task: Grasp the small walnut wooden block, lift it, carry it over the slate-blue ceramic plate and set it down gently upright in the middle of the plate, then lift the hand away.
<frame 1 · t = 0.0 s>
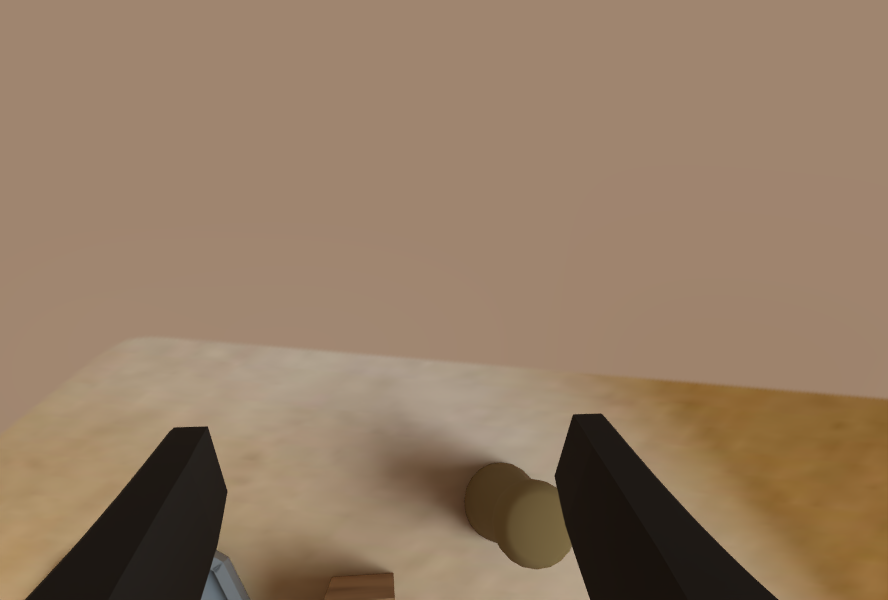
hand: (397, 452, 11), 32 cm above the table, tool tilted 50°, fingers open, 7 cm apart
cork: (501, 501, 42), on the table
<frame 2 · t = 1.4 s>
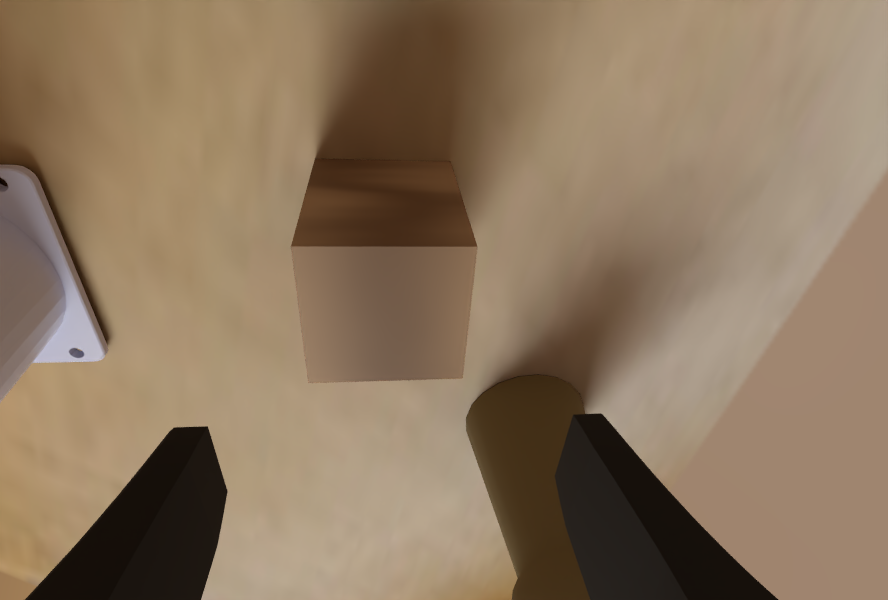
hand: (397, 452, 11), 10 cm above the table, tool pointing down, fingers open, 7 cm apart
block: (384, 220, 19), on the table
cork: (523, 415, 26), on the table
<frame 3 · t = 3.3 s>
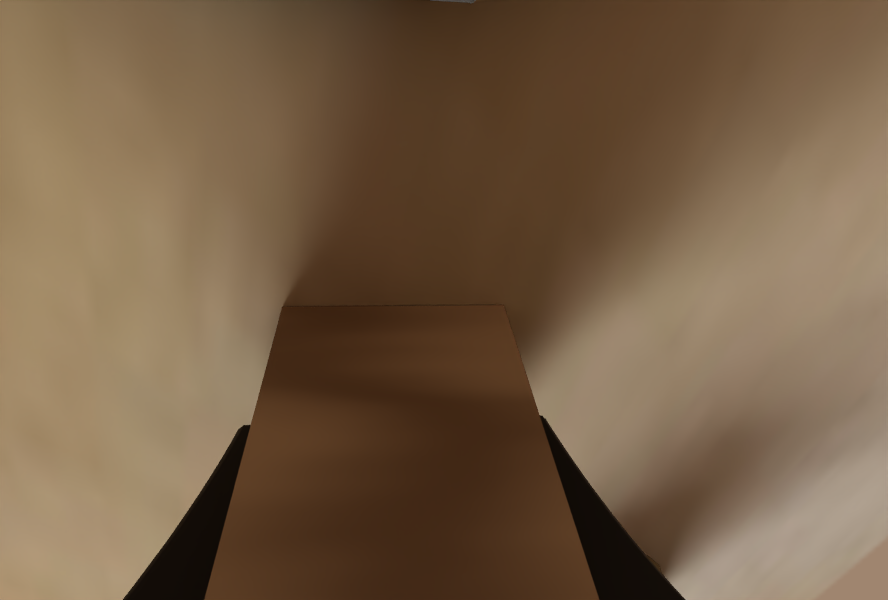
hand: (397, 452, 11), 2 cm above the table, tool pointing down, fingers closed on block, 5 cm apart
block: (395, 385, 12), on the table, touching gripper
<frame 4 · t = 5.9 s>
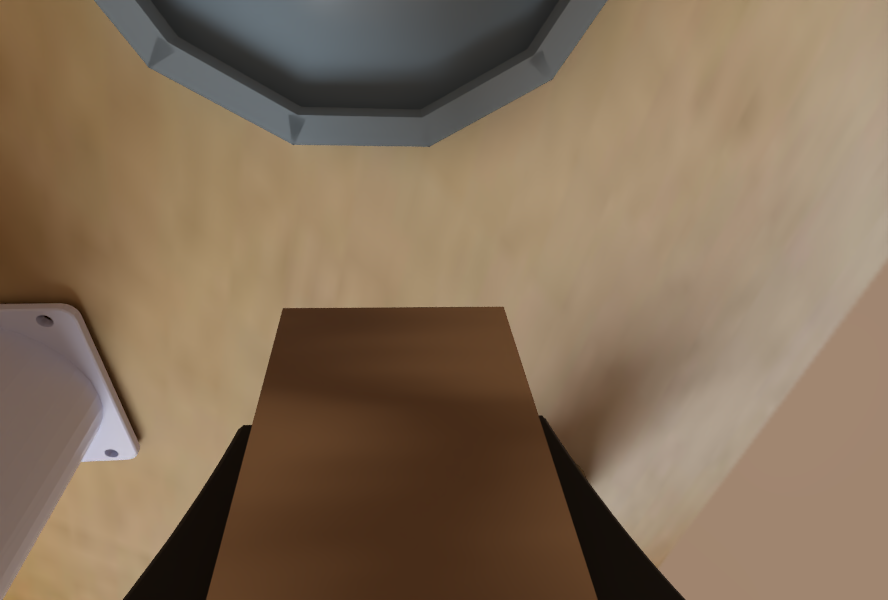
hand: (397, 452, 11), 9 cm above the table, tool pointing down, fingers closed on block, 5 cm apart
block: (395, 386, 12), point 7 cm above the table, touching gripper
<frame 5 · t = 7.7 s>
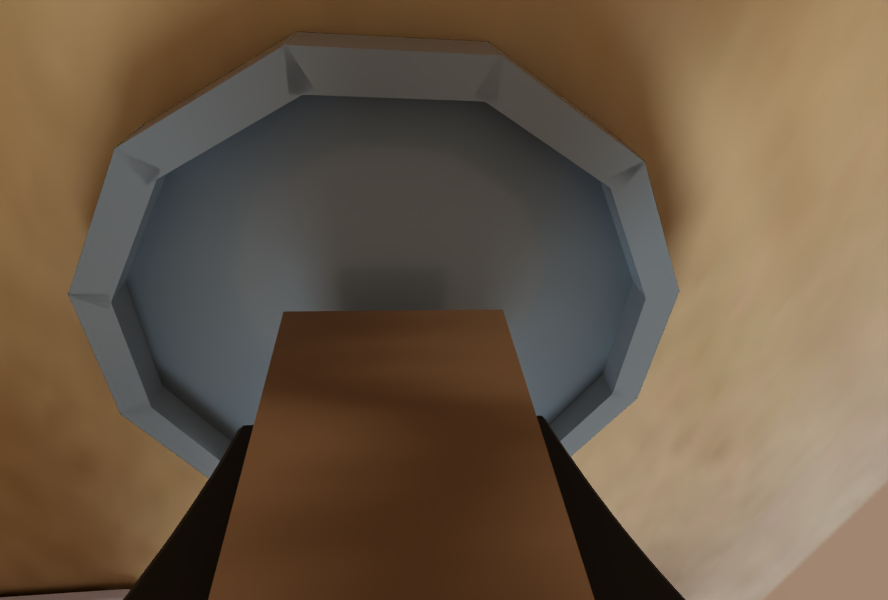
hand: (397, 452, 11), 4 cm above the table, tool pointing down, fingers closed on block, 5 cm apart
block: (395, 388, 12), point 2 cm above the table, touching gripper
plate: (392, 320, 14), on the table
when the fingers open (4 cm above the table, at t = 8.7 s): block drops 1 cm, resting on plate.
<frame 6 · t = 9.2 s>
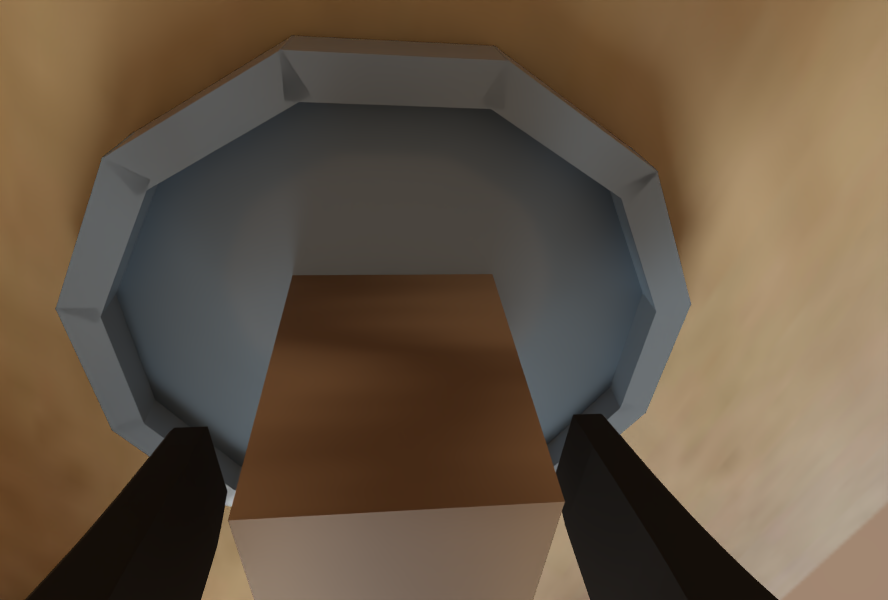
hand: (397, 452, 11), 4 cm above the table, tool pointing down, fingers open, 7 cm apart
block: (394, 349, 13), point 1 cm above the table, touching plate
plate: (393, 332, 14), on the table
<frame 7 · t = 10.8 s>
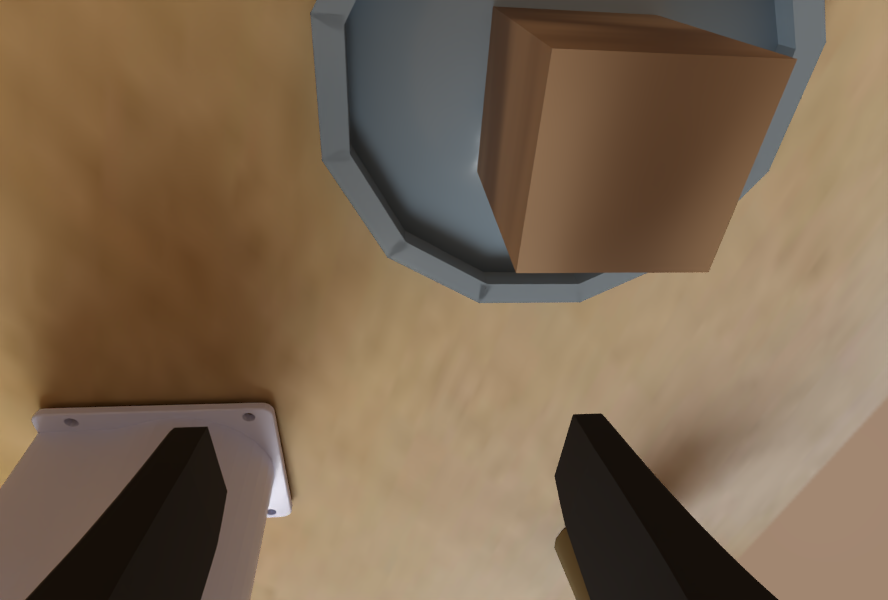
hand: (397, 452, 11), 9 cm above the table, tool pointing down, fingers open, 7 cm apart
block: (560, 98, 15), point 1 cm above the table, touching plate
cork: (601, 534, 32), on the table
plate: (555, 90, 16), on the table
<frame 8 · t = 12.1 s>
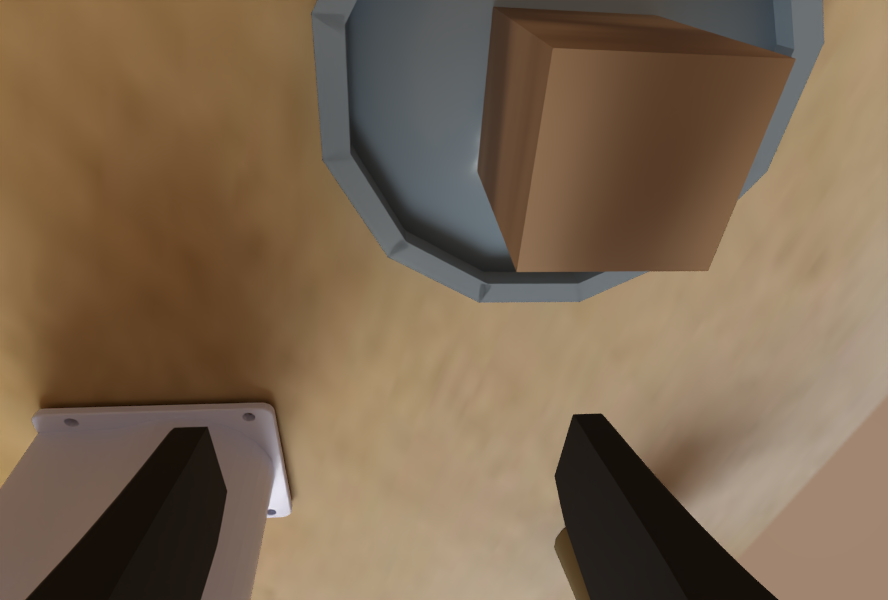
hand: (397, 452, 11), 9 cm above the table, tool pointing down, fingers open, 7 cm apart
block: (560, 98, 15), point 1 cm above the table, touching plate
cork: (601, 534, 32), on the table
plate: (555, 90, 16), on the table
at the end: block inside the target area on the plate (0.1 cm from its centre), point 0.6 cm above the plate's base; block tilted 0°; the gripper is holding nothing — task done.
